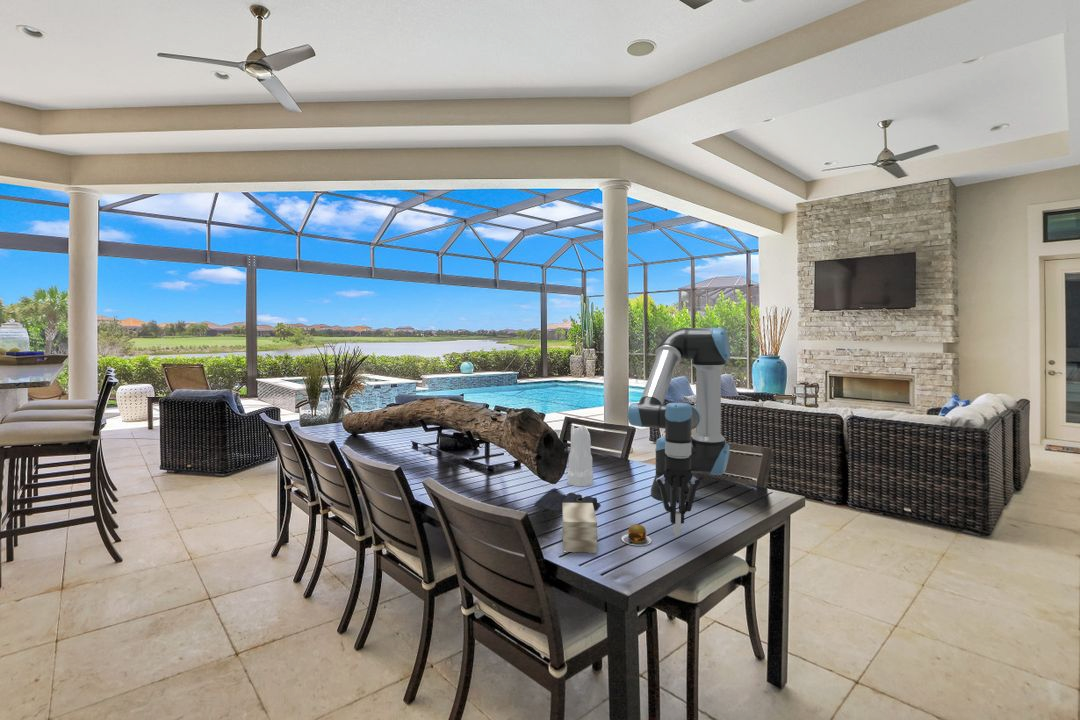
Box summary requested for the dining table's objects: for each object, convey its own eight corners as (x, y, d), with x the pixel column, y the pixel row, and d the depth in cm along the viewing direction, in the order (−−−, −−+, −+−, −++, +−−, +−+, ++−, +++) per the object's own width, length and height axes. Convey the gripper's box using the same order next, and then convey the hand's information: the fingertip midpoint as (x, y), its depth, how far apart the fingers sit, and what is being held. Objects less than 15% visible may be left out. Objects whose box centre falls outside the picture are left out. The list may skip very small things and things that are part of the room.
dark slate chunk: (554, 496, 196) (554, 484, 196) (604, 507, 184) (604, 494, 183) (530, 507, 184) (530, 494, 184) (583, 519, 171) (583, 505, 171)
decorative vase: (568, 478, 220) (568, 421, 219) (593, 479, 218) (593, 422, 217) (566, 486, 209) (566, 425, 208) (592, 487, 207) (592, 426, 206)
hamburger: (611, 536, 157) (611, 518, 157) (649, 534, 159) (649, 517, 158) (622, 552, 145) (622, 533, 145) (662, 549, 147) (663, 531, 146)
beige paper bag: (592, 530, 160) (592, 502, 160) (597, 552, 143) (597, 522, 143) (562, 530, 160) (562, 502, 160) (563, 552, 143) (563, 521, 143)
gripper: (696, 452, 153) (695, 529, 154) (653, 452, 154) (652, 529, 155) (703, 458, 146) (702, 539, 147) (658, 458, 146) (657, 538, 147)
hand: (677, 533), depth 151 cm, fingers closed
